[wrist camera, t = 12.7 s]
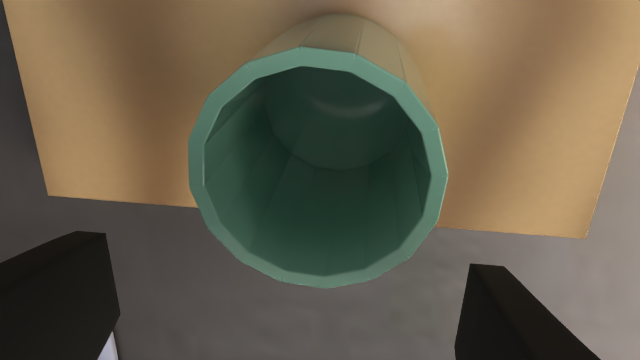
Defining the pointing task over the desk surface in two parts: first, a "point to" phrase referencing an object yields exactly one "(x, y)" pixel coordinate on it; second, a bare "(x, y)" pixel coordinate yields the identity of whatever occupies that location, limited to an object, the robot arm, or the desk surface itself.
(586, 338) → the desk surface
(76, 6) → the wooden block
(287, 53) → the tub
